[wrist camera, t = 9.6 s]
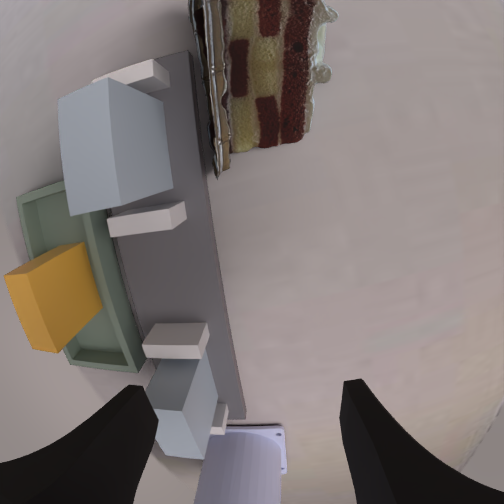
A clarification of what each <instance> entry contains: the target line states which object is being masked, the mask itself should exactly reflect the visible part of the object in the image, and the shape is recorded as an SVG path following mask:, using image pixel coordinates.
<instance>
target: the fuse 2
mask: <svg viewBox="0 0 504 504" xmlns="http://www.w3.org/2000/svg"><path fill="white" fill-rule="evenodd" d="M145 393H146V395H147V397H148V399H149V401H150V403H151V405H152V407H153V409H154V411H155V413H156V415H157V417H158V419H159V423H158V428H157V432H156V437H155V439H156V440H157V442H158V444H159V445H160V447H161V449H162V450H163V452H164V453H165V455H168V456H175V457H183V458H192V459H203V460H204V458H205V454H206V449H207V445H208V440H209V436H210V431H211V427H212V422H213V418H214V413H215V409H216V405H217V400H218V394H217V390H216V387H215V383H214V379H213V376H212V372H211V368H210V364H209V360H208V356H207V353H206V349H205V351H204V354H203V357H202V359H166V358H162V359H161V361H160V363H159V365H158V367H157V369H156V371H155V373H154V375H153V377H152V379H151V381H150V383H149V385H148V387H147V389H146V391H145Z"/></svg>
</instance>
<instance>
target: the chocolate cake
mask: <svg viewBox="0 0 504 504" xmlns="http://www.w3.org/2000/svg"><path fill="white" fill-rule="evenodd" d="M188 1H189V2H188V10H189V16H188V17H189V20H190V22H191V23H192V27H193V33H194V36H195V40H196V45H197V53H198V59H199V61H200V66H201V74H202V75H201V79H202V85H203V87H204V89H205V92H206V96H207V107H208V114H209V117H210V118H209V119H210V122H209V123H208V125H207V129H208V134H209V139H210V146H211V148H212V149H213V150H215V154H214V158H213V162H212V167H213V169H214V174H215V176H216V178H217V180H218V177H219V175H220V173H221V172H222V171H225V170H227V169H229V168H230V162H231V160H230V155H229V154H231V153H239V152H247V151H249V150H250V149H251V148H253V147H259V148H269V147H272V146H279V145H281V144H284V143H295V142H298V141H299V140H301V139H302V138H303V136H304V135H305V134H306V133H308V132H309V131H310V126H311V121H312V115H313V110H314V99H313V90H314V85H315V84H317V83H327V82H329V81H330V79H331V75H332V70H331V68H330V66H328V65H327V64H325V63H323V57H324V52H325V39H326V23H327V22H331V23H332V22H335V21H336V20H337V19H338V13H337V12H336V11H335V10H334V9H333V8H331V7H330V6H327V5H326V4H325V0H188Z"/></svg>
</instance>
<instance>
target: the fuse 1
mask: <svg viewBox="0 0 504 504" xmlns="http://www.w3.org/2000/svg"><path fill="white" fill-rule="evenodd" d="M58 123H59V138H60V150H61V159H62V168H63V175H64V182H65V189H66V195H67V201H68V207H69V212H70V216H74V215H78V214H83V213H88V212H92V211H97V210H102V209H107V208H112V207H117V206H122V205H125V204H128V203H130V202H133V201H136V200H139V199H142V198H145V197H148V196H151V195H154V194H157V193H160V192H163V191H166V190H169V189H173V181H172V174H171V167H170V159H169V151H168V143H167V135H166V126H165V116H164V106H163V102H162V101H160V100H158V99H156V98H154V97H152V96H150V95H147V94H145V93H143V92H141V91H139V90H136V89H134V88H132V87H130V86H128V85H125V84H123V83H121V82H118V81H116V80H114V79H111V78H109V77H107V78H104V79H102V80H99V81H97V82H95V83H92V84H90V85H87V86H85V87H83V88H81V89H78V90H76V91H74V92H72V93H70V94H68V95H66V96H64V97H62V98H59V99H58Z"/></svg>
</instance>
